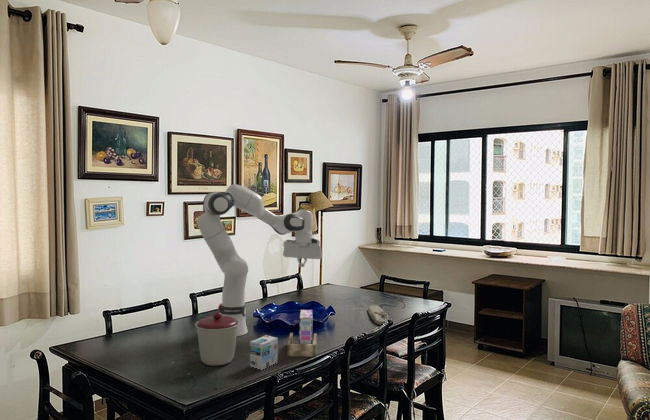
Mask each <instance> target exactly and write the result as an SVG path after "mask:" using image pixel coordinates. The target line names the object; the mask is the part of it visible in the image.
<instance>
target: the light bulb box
mask: <svg viewBox="0 0 650 420" xmlns="http://www.w3.org/2000/svg"><path fill="white" fill-rule="evenodd" d="M278 341H279V339H278V337H275V336H271V335H267V334H265V335H263V336H261V337H259V338H256V339H254V340H250V341H249V367H250V366H251V367H250V368H252V367H254V368H253V369H255V368H257V369H256V370H259V369H260V371H263V369H264V370H266V369H268V368H270V367H272V366H273V364H274V365H276V364H278V349H279V348H278V346H279V344H278V343H279V342H278ZM275 363H276V364H275ZM271 365H272V366H271ZM269 366H270V367H269ZM267 367H268V368H267ZM265 368H266V369H265Z"/></svg>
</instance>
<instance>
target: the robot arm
mask: <svg viewBox="0 0 650 420" xmlns="http://www.w3.org/2000/svg"><path fill="white" fill-rule="evenodd" d="M202 204H203V205H202V212H203V213H202V214H201V215H200V216H199V217H198V218H197V220H196V223H197V224H196V225H197V226H198V229H199V232H200V235H201V236H202V238H203V239H204V242H205V243H206V245H207V246H208V248H209V250H210V251H211V253H212V255H213V258H214V259H215V261H216V263H217V265H218V267H219V268H220V270H221V272H222V273H223V274H224V279H223V287H222V295H221V296H222V297H221V298H222V301H221V303H219V305H218V307H217V310H218V311H217V312H220V313H221V314H222V316H230V317H233V318H235V319H237V320H238V321H239V325H238V328H237V337H240V336H244V335H247V333H249V331H248V327H247V323H246V322H247V321H246V313H247V312H246V311H247V309H246V308H247V307H246V303H245V302H246V299H245V297H246V296H245V295H246V292H245V291H246V290H245V289H246V283H247V277H248V272H249V267H248V264H247V261H246V260H245V259H244V258H243V257H241V256H240V255H239V253H238V252H237V249H236V248H235V246H234V245H235V244H234V242H233V240H232V239H231V236H230V235H229V234H228V231H227V230H226V228H225V227H224V225H223V224H222V221H221V216H222V215H225V214H226V213H228V212H229V211H230V210H231V209H232V208H233V207H235V208H236V209H239V210H241V211H243V212H244V213H247V214H249V215H250V216H251V215H252V216H253V217H255V218H256V219H258V220H260V221H262V222H263V223H265V224H268V225H269V226H270V227H271V228H272V229H273V230H274V232H275V233H277V234H278V235H281V236H283V235H287V234H289V233H295V237H294V238H295V239H286V240H284V242H283V253H282V255H283V257H284V258H291V259H292V258H295V259H296V260H297V263H298V267H299V268H305V265H306V263H307V262H308V259H309V260H310V259H311V260H321V259H322V257H323V255H322V253H323V252H322V247H321V241H320V240H319V239H316V238H314V237H313V229H314V215H313V212H311V211H310V210H308V209H304V208H303V209H299V210H297V211H295V212H292V213H287V214H284V215H277V214H274V213H273V212H272V211H270V210H268V209H266V208H265V206H264V199H263V196H261V195H259V194H258V193H256V191H254V190H252V189H249V188H247V187H246V186H243V185H240V184H237V183H236V184H235V183H233V184H231V185H229V186H228V187H227V188H226V191H225V192H219V191H211V192H209V193H206V195H205V196H204V198H203V202H202ZM301 259H303V262H302V263H301V262H300V261H301Z"/></svg>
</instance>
